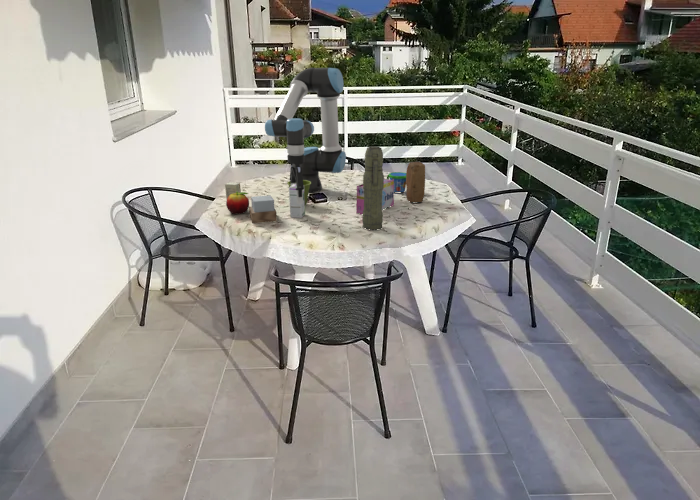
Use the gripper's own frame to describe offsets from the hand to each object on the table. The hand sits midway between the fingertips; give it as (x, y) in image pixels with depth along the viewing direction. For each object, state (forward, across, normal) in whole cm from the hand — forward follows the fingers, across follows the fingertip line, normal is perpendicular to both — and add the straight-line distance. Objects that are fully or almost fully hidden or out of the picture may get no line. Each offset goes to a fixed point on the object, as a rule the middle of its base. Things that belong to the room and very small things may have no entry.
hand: (296, 200), depth 242 cm
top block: (+3, 0, -16) cm, 16 cm away
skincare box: (+8, -22, -27) cm, 36 cm away
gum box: (+8, 0, +39) cm, 40 cm away
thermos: (+8, +26, +28) cm, 39 cm away
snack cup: (+7, -29, +62) cm, 69 cm away
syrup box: (+8, 0, 0) cm, 8 cm away
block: (+7, -9, +63) cm, 64 cm away
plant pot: (+8, -19, +5) cm, 21 cm away
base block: (+8, 0, -16) cm, 18 cm away
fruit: (+8, -13, -26) cm, 30 cm away
